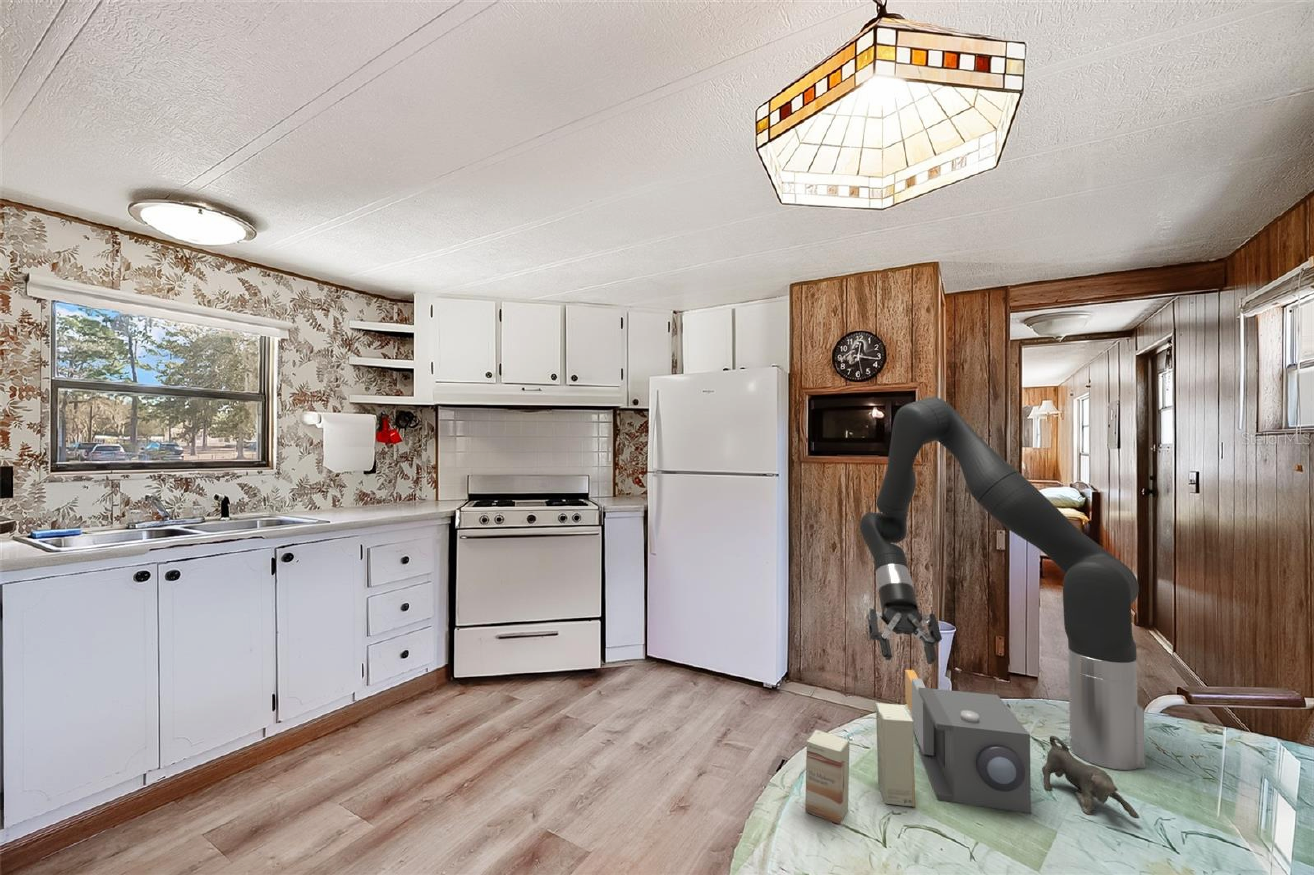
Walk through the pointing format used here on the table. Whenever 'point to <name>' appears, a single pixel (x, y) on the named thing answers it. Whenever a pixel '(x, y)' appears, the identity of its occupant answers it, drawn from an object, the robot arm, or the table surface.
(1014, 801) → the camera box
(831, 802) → the skincare box
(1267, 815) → the table surface
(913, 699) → the door
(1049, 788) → the dog figurine
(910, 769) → the skincare box
